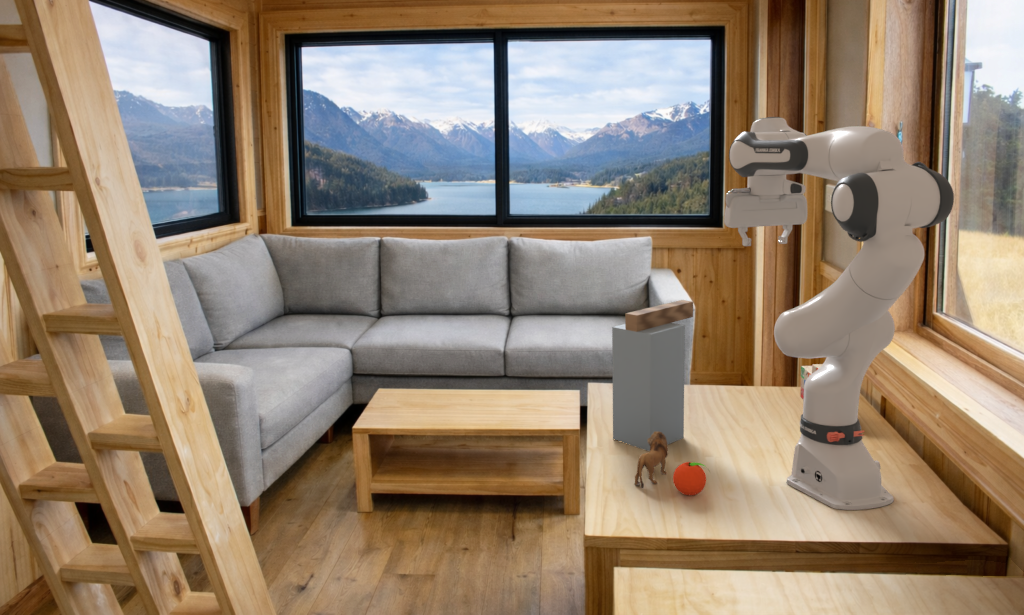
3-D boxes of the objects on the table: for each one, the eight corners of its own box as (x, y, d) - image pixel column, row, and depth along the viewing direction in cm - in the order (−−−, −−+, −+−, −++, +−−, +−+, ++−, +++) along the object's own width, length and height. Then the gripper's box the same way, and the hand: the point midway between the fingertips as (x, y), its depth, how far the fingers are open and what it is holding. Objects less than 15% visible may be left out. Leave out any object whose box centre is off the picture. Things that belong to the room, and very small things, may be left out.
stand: (646, 426, 221) (646, 318, 215) (683, 437, 212) (684, 325, 207) (612, 439, 213) (612, 327, 207) (650, 451, 204) (650, 334, 198)
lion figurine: (648, 464, 196) (648, 427, 194) (671, 467, 194) (671, 430, 192) (631, 489, 183) (630, 449, 181) (655, 492, 181) (655, 452, 179)
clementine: (703, 485, 184) (704, 454, 182) (716, 498, 177) (716, 466, 175) (668, 489, 182) (668, 457, 181) (679, 502, 176) (679, 470, 174)
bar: (681, 315, 218) (682, 299, 217) (692, 316, 216) (693, 301, 215) (625, 329, 204) (625, 313, 203) (636, 331, 201) (636, 315, 201)
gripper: (731, 189, 197) (730, 248, 199) (812, 186, 201) (809, 243, 203) (720, 188, 203) (719, 245, 206) (798, 184, 207) (796, 241, 209)
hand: (764, 244), depth 205 cm, fingers open, 8 cm apart
